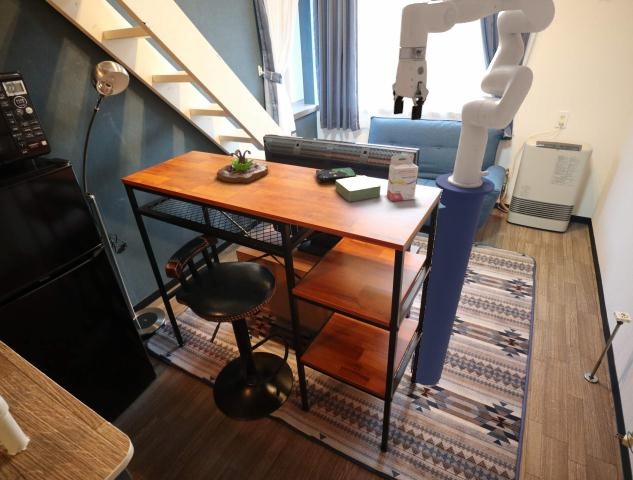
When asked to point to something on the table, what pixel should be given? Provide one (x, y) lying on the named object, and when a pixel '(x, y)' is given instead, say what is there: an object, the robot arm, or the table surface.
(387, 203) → the table surface
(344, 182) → the green block
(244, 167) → the plant
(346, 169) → the disk drive
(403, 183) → the ink cartridge box
